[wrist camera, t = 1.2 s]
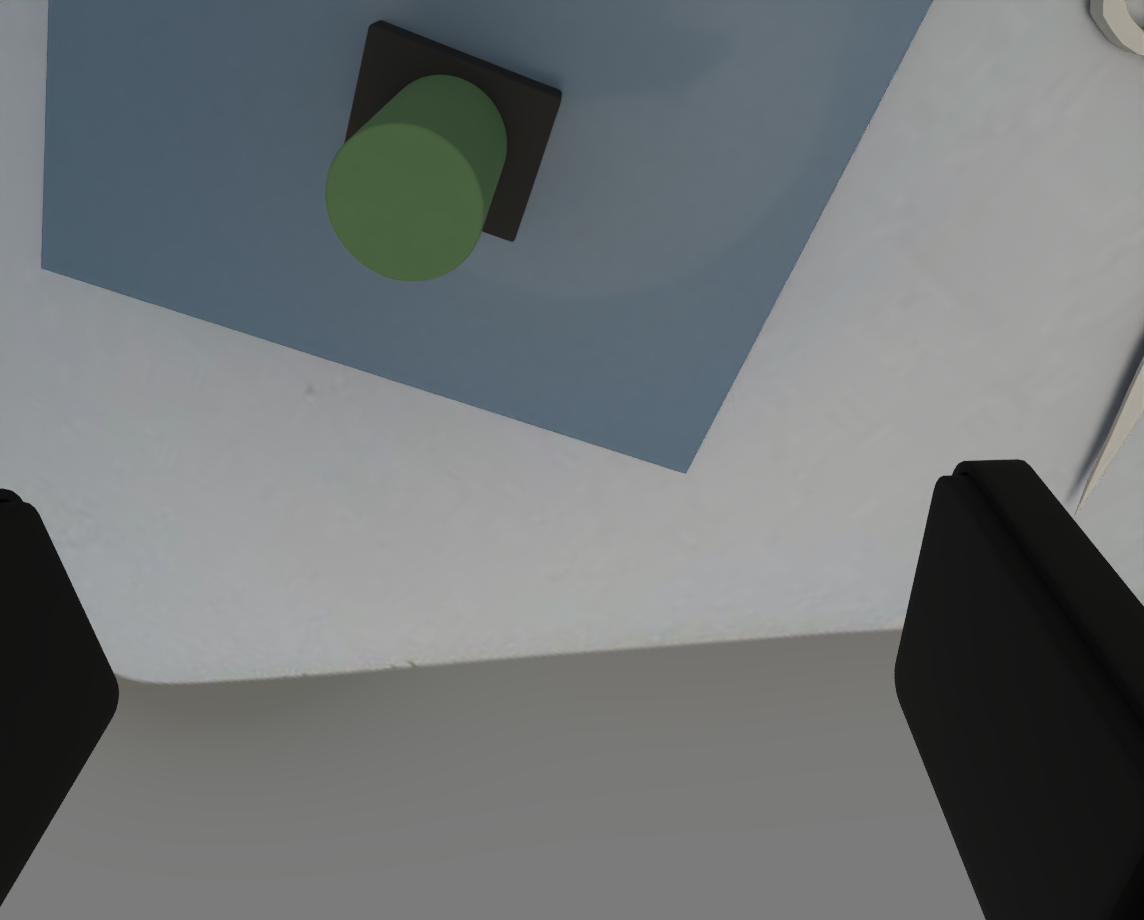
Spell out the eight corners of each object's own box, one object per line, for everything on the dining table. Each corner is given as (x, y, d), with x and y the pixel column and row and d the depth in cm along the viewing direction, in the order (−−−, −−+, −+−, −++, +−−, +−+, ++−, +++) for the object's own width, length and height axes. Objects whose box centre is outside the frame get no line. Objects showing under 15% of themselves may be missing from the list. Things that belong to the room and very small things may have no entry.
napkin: (43, 266, 26) (40, 268, 26) (63, -441, 17) (60, -444, 17) (685, 471, 29) (685, 473, 29) (950, -37, 21) (951, -36, 21)
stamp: (346, 169, 24) (264, 256, 18) (378, 18, 22) (298, 57, 16) (516, 230, 25) (494, 332, 19) (563, 90, 23) (554, 154, 17)
